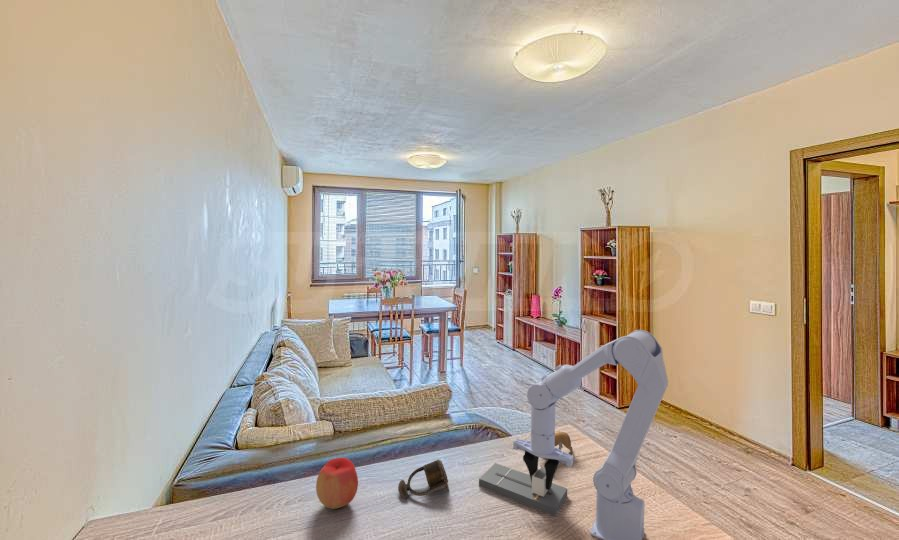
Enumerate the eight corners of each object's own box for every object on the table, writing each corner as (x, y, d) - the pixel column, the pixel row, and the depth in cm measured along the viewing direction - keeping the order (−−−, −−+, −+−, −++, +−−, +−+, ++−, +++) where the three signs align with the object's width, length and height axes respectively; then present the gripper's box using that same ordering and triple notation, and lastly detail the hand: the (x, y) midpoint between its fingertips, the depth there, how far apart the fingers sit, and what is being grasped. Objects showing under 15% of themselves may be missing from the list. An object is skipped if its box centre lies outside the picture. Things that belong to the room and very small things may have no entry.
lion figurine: (540, 466, 108) (541, 435, 108) (528, 457, 113) (528, 427, 113) (578, 454, 115) (578, 424, 115) (565, 446, 120) (565, 417, 120)
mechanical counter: (450, 484, 91) (453, 453, 101) (396, 476, 92) (404, 447, 101) (447, 508, 93) (450, 476, 103) (395, 500, 94) (403, 469, 103)
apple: (320, 494, 95) (319, 454, 95) (359, 490, 97) (359, 451, 96) (313, 520, 86) (312, 477, 85) (356, 516, 87) (356, 473, 87)
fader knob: (550, 486, 95) (551, 470, 95) (543, 496, 91) (544, 479, 91) (539, 482, 97) (539, 466, 97) (531, 492, 93) (532, 475, 93)
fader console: (567, 496, 95) (567, 488, 95) (555, 516, 88) (555, 507, 88) (495, 469, 106) (495, 462, 106) (478, 486, 99) (479, 478, 99)
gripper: (577, 432, 93) (576, 487, 93) (521, 417, 101) (520, 467, 102) (568, 444, 87) (567, 502, 88) (510, 427, 95) (509, 480, 96)
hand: (541, 484), depth 94 cm, fingers closed on fader knob, 3 cm apart
